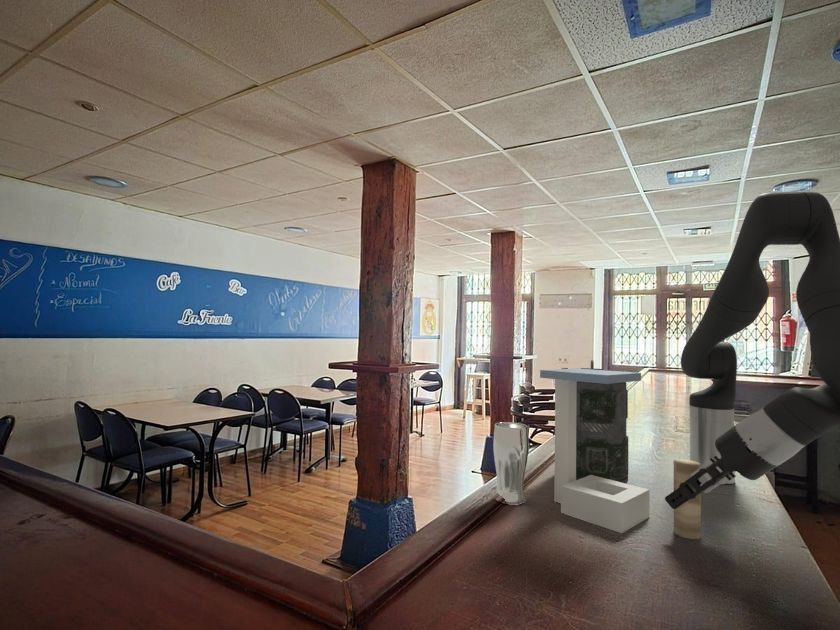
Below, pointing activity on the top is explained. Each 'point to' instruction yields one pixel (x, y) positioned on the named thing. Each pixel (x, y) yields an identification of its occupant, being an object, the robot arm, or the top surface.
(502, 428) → the beer glass
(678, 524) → the peg
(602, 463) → the canister
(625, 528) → the kiosk
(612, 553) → the top surface
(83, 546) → the top surface
